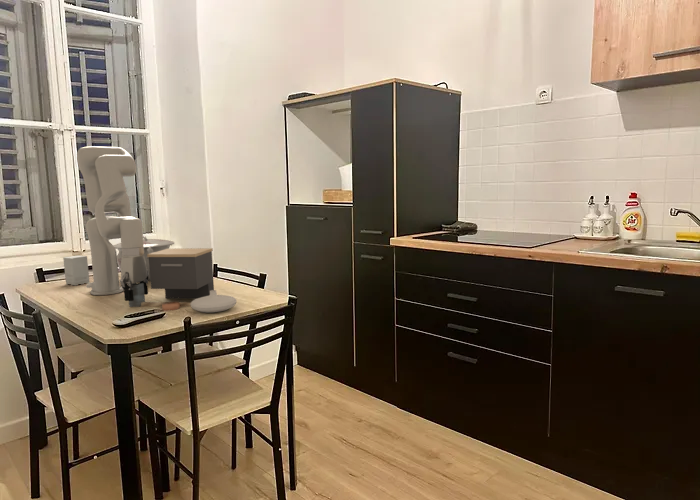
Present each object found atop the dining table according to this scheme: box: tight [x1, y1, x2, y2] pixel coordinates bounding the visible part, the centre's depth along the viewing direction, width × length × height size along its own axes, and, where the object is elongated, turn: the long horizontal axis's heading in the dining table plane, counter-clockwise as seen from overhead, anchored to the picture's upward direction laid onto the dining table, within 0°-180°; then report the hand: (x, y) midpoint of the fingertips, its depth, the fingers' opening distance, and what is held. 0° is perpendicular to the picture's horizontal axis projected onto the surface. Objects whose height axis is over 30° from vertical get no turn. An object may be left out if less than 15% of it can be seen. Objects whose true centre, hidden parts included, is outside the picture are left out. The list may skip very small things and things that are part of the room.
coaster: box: [161, 301, 181, 312], centre depth 180 cm, size 6×6×2 cm
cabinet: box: [147, 247, 215, 300], centre depth 191 cm, size 19×16×19 cm
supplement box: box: [63, 255, 90, 286], centre depth 229 cm, size 7×7×13 cm
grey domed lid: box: [190, 289, 237, 313], centre depth 176 cm, size 16×16×7 cm
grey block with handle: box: [128, 282, 192, 308], centre depth 184 cm, size 23×4×8 cm, turn 82°
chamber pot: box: [112, 235, 175, 282], centre depth 237 cm, size 28×28×21 cm
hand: (136, 297), depth 185 cm, fingers open, 9 cm apart
